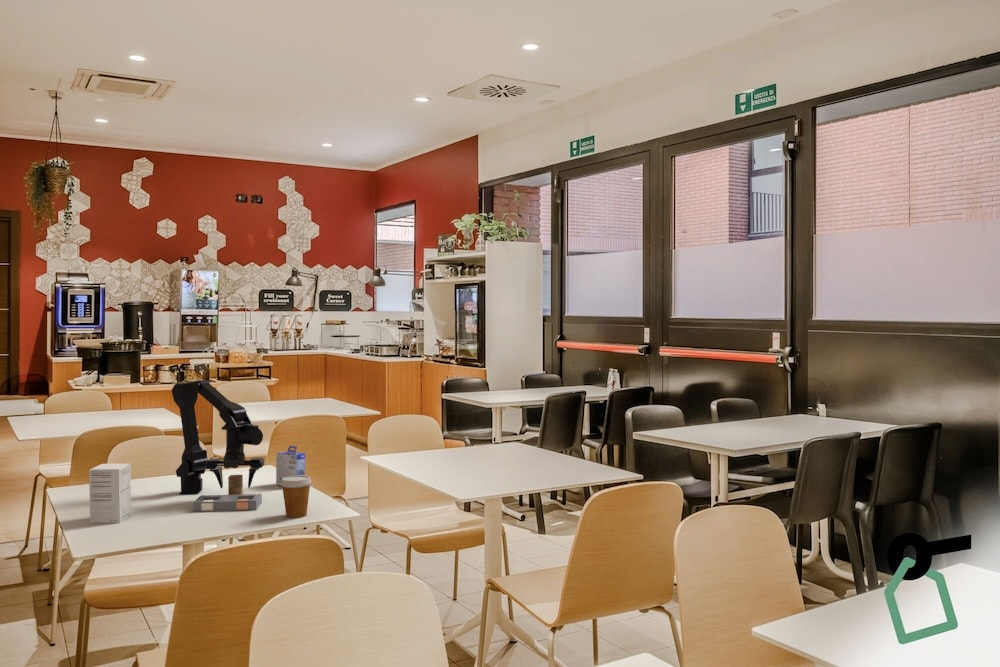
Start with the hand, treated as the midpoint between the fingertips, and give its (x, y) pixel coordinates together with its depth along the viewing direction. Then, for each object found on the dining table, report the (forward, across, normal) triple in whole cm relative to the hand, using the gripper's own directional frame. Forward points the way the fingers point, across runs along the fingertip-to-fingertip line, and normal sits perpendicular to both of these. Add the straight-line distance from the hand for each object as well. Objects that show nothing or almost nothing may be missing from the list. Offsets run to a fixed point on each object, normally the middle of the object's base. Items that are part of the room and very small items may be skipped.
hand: (235, 487), depth 281 cm
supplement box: (+4, -33, -24) cm, 41 cm away
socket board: (+4, 0, -12) cm, 13 cm away
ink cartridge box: (+4, +16, +20) cm, 26 cm away
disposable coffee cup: (+4, +24, -26) cm, 36 cm away
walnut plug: (+4, 0, 0) cm, 4 cm away
